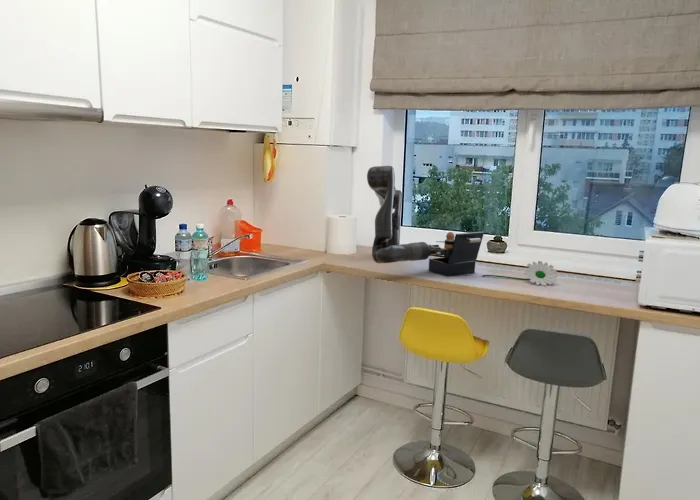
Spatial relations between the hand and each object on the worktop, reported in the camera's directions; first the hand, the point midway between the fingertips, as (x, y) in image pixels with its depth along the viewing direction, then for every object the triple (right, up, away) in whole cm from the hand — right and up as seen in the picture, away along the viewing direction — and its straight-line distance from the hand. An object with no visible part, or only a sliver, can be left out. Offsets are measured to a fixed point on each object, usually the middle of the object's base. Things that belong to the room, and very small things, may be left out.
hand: (444, 248), depth 234 cm
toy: (+5, -7, +21) cm, 23 cm away
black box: (+3, -10, +2) cm, 11 cm away
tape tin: (+2, -9, +3) cm, 10 cm away
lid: (+8, +1, -6) cm, 10 cm away
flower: (+30, -13, -9) cm, 34 cm away
